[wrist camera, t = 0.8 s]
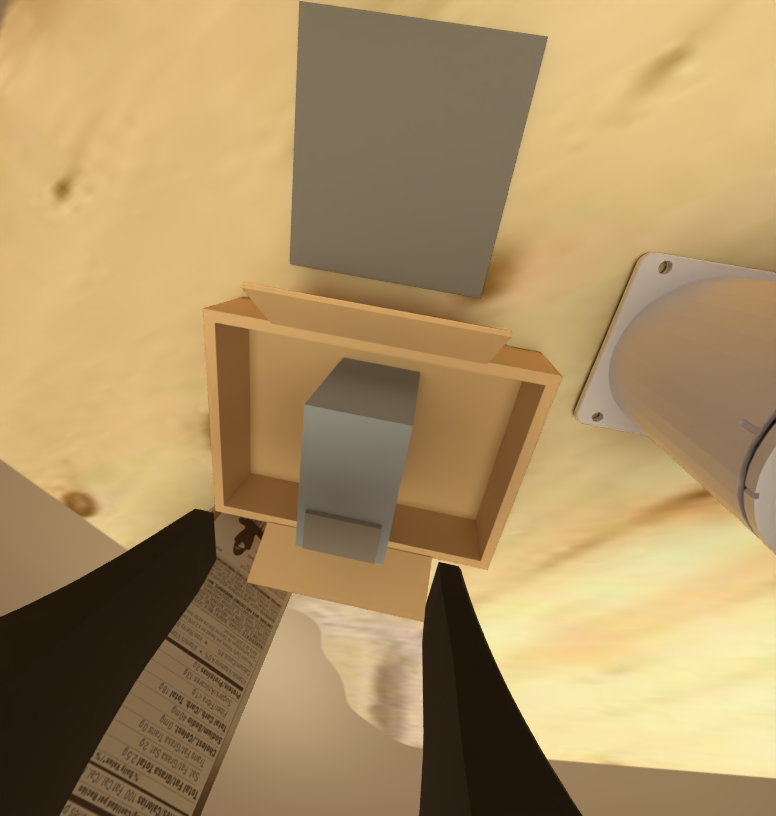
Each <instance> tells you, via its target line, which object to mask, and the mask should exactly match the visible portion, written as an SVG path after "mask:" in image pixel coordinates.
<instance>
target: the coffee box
mask: <svg viewBox="0 0 776 816" xmlns="http://www.w3.org/2000/svg"><path fill="white" fill-rule="evenodd" d="M209 512H213V513H214V525H215V541H216V556H217V559H216V561H215V563H214V565H213V567H212V569H211V571H210V573H209V574H208V576H207V578H206V580H205V582H204V583H203V585H202V587H201V589H200V590H199V592H198V593H197V595H196V596H195V598H194V599H193V601H192V602H191V603H190V605H189V606H188V608H187V609H186V611H185V612H184V613H183V615H182V616H181V618H180V619H179V621H178V622H177V623H176V625H175V626H174V628H173V629H172V630H171V632H170V633H169V635H168V636H167V637H166V639H165V640H164V642H163V643H162V644H161V646H160V647H159V649H158V650H157V651H156V653H155V654H154V656H153V657H152V658H151V660H150V661H149V663H148V664H147V666H146V667H145V669H144V670H143V672H142V673H141V675H140V676H139V678H138V679H137V681H136V682H135V684H134V686H133V687H132V689H131V691H130V692H129V694H128V696H127V697H126V699H125V701H124V702H123V704H122V706H121V707H120V709H119V711H118V712H117V714H116V716H115V717H114V719H113V721H112V722H111V724H110V726H109V728H108V729H107V731H106V733H105V735H104V736H103V738H102V740H101V742H100V743H99V745H98V747H97V749H96V750H95V752H94V754H93V756H92V757H91V759H90V761H89V763H88V764H87V766H86V768H85V770H84V772H83V774H82V775H81V777H80V779H79V781H78V783H77V785H76V786H75V788H74V790H73V792H72V794H71V796H70V797H69V799H68V801H67V803H66V805H65V807H64V809H63V810H62V812H61V814H60V816H201V813H202V810H203V808H204V805H205V803H206V800H207V798H208V796H209V793H210V791H211V788H212V786H213V784H214V781H215V779H216V776H217V774H218V772H219V769H220V767H221V764H222V762H223V759H224V757H225V754H226V752H227V750H228V747H229V745H230V742H231V740H232V737H233V735H234V733H235V730H236V728H237V725H238V723H239V721H240V718H241V716H242V713H243V711H244V709H245V706H246V704H247V701H248V699H249V696H250V694H251V692H252V689H253V687H254V684H255V682H256V679H257V677H258V674H259V672H260V669H261V667H262V665H263V662H264V660H265V657H266V655H267V653H268V650H269V648H270V645H271V643H272V640H273V638H274V635H275V633H276V630H277V628H278V626H279V623H280V621H281V618H282V616H283V613H284V611H285V609H286V606H287V604H288V601H289V599H290V596H291V594H292V592H288V591H283V590H279V589H274V588H270V587H266V586H261V585H257V584H252V583H248V582H247V579H248V576H249V573H250V571H251V568H252V565H253V562H254V559H255V556H256V554H257V551H258V548H259V545H260V542H261V540H262V537H263V534H264V531H265V528H266V525H267V523H268V522H264V521H260V520H255V519H250V518H246V517H241V516H236V515H232V514H227V513H223V512H218V511H215V506H214V507H213V508H212V509H211V510H210V511H209Z"/></svg>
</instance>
